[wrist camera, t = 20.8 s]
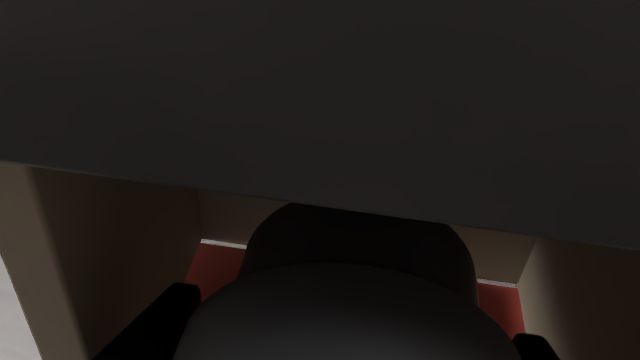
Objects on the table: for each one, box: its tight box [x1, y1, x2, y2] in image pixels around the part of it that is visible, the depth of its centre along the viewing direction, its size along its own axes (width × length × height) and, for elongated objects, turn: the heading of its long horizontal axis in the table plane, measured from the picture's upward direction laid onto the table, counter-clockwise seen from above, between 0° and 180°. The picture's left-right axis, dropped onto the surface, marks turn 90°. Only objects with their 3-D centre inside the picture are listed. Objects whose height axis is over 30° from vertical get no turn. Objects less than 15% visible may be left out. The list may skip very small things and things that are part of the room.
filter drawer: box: [0, 162, 640, 360], centre depth 12 cm, size 19×11×7 cm, turn 176°
